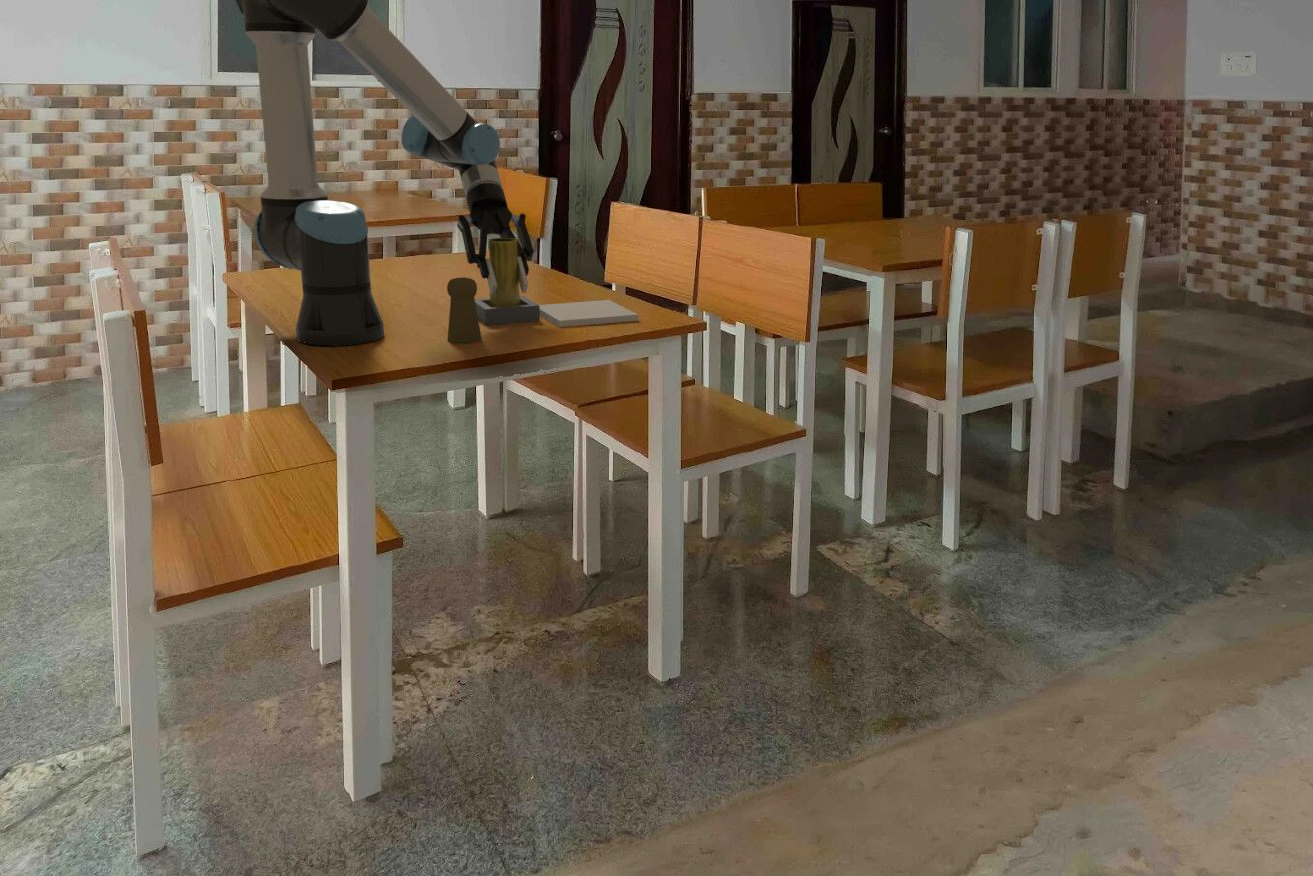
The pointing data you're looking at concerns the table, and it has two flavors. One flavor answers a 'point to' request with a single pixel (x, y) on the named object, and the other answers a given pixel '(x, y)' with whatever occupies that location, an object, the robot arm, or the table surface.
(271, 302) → the table surface
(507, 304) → the vase
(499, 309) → the collar
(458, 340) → the olive brown pawn
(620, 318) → the board
